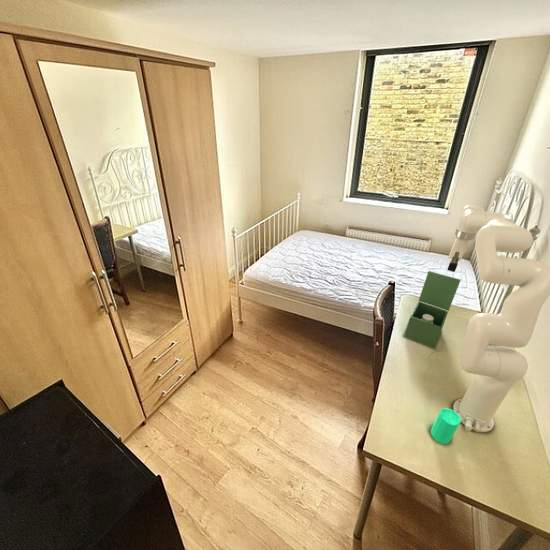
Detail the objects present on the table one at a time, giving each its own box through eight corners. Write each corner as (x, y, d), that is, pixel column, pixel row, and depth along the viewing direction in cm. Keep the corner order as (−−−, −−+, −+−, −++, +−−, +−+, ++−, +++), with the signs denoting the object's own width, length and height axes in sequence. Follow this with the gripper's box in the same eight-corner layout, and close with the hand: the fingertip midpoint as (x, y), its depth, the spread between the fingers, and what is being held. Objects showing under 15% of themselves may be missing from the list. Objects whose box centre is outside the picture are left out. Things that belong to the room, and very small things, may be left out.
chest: (434, 348, 134) (442, 328, 128) (403, 336, 141) (410, 316, 135) (440, 330, 145) (448, 311, 139) (412, 320, 152) (418, 301, 146)
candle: (452, 434, 99) (464, 412, 93) (447, 447, 95) (459, 425, 89) (434, 423, 103) (444, 401, 97) (428, 435, 99) (438, 413, 93)
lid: (460, 280, 131) (460, 279, 132) (428, 271, 138) (428, 270, 139) (448, 310, 139) (448, 310, 139) (418, 300, 145) (418, 300, 146)
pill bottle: (429, 332, 143) (435, 316, 138) (428, 338, 139) (434, 322, 134) (417, 327, 146) (422, 311, 141) (415, 334, 142) (420, 318, 137)
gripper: (457, 227, 134) (445, 262, 144) (452, 237, 124) (439, 274, 133) (476, 231, 131) (462, 266, 140) (472, 242, 120) (457, 279, 130)
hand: (451, 270), depth 137 cm, fingers closed
